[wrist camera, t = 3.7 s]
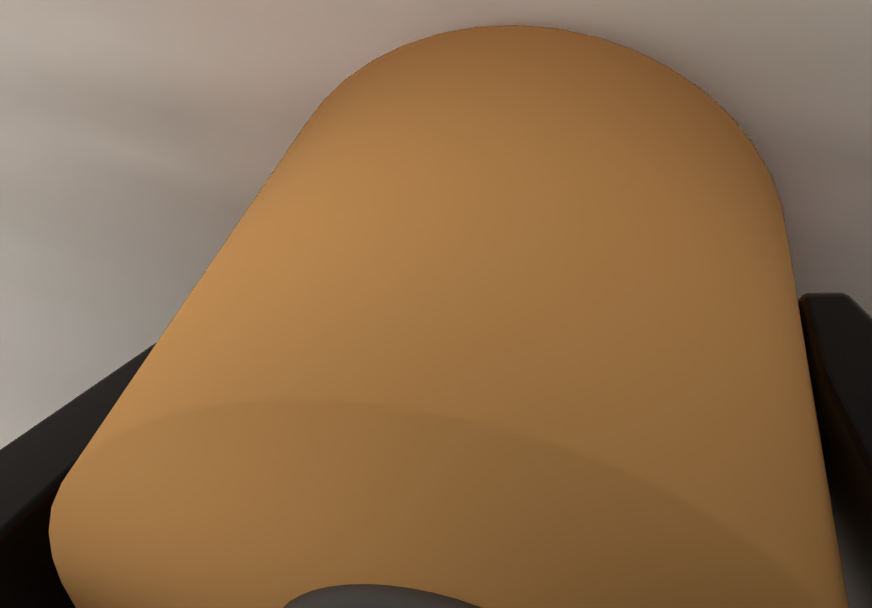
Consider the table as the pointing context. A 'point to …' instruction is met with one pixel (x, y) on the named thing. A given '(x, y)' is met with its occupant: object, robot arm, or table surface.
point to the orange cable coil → (477, 362)
